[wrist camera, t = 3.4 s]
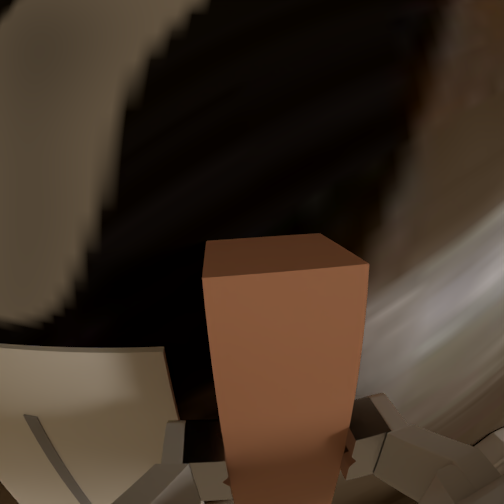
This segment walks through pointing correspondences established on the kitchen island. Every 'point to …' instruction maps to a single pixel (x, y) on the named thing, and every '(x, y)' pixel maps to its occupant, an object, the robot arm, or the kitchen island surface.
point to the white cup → (494, 449)
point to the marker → (284, 360)
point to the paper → (81, 420)
